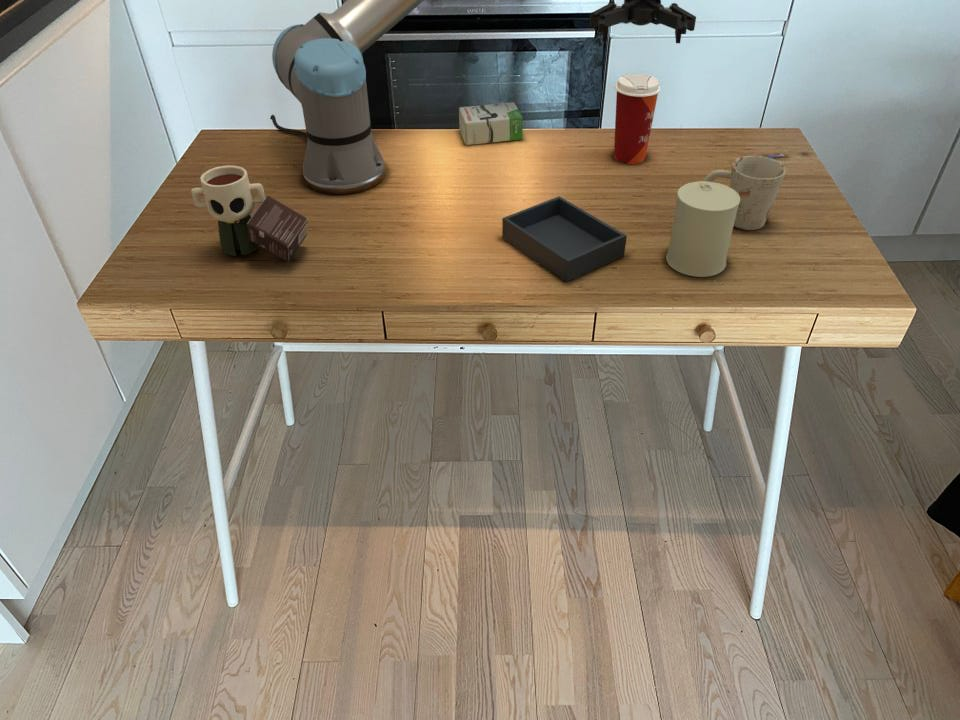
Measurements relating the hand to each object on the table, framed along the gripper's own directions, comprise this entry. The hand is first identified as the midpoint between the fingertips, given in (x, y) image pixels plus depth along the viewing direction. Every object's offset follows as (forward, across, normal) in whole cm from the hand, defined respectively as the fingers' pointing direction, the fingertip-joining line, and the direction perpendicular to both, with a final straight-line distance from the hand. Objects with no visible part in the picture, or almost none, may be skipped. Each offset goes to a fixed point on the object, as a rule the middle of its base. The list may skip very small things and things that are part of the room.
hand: (642, 34), depth 145 cm
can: (+46, -11, -20) cm, 51 cm away
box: (+54, +51, -16) cm, 76 cm away
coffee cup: (+10, 0, -20) cm, 22 cm away
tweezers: (+6, -28, -19) cm, 34 cm away
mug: (+31, -18, -20) cm, 41 cm away
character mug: (+52, +62, -20) cm, 84 cm away
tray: (+44, +10, -20) cm, 50 cm away
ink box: (+1, +23, -17) cm, 29 cm away
